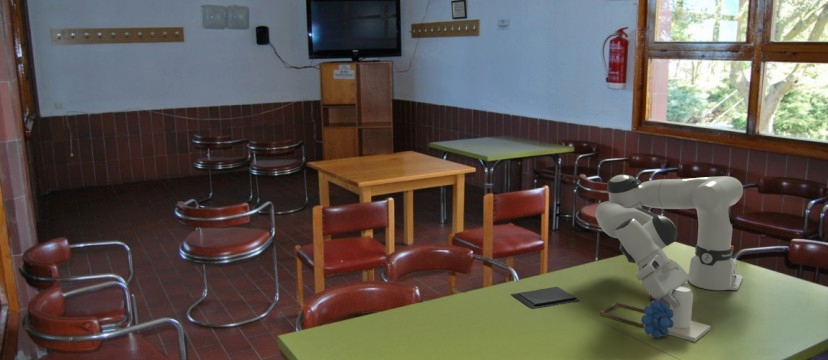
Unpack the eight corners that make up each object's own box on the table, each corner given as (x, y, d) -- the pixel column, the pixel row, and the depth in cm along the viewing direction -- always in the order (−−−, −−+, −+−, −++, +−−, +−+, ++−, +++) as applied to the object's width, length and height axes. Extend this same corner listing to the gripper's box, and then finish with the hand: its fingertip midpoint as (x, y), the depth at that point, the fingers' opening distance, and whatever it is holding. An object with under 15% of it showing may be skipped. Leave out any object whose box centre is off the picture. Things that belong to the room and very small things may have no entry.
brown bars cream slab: (617, 303, 232) (617, 300, 232) (710, 329, 212) (710, 325, 212) (599, 314, 224) (599, 311, 223) (694, 342, 203) (695, 338, 203)
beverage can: (664, 324, 213) (667, 287, 211) (679, 320, 216) (682, 283, 213) (679, 331, 207) (682, 293, 205) (695, 327, 210) (698, 290, 208)
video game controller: (663, 314, 227) (675, 297, 226) (651, 307, 228) (662, 290, 226) (658, 303, 237) (669, 286, 235) (646, 297, 237) (657, 280, 235)
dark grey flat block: (530, 305, 228) (509, 290, 242) (530, 311, 228) (508, 295, 242) (582, 297, 235) (558, 283, 249) (582, 303, 235) (558, 288, 249)
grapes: (650, 347, 200) (653, 307, 197) (635, 337, 206) (637, 299, 204) (682, 340, 204) (685, 302, 202) (666, 331, 210) (668, 294, 208)
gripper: (661, 262, 224) (689, 298, 219) (633, 277, 209) (662, 316, 205) (676, 251, 220) (705, 288, 215) (648, 267, 205) (678, 306, 201)
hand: (683, 302), depth 210 cm, fingers open, 8 cm apart
